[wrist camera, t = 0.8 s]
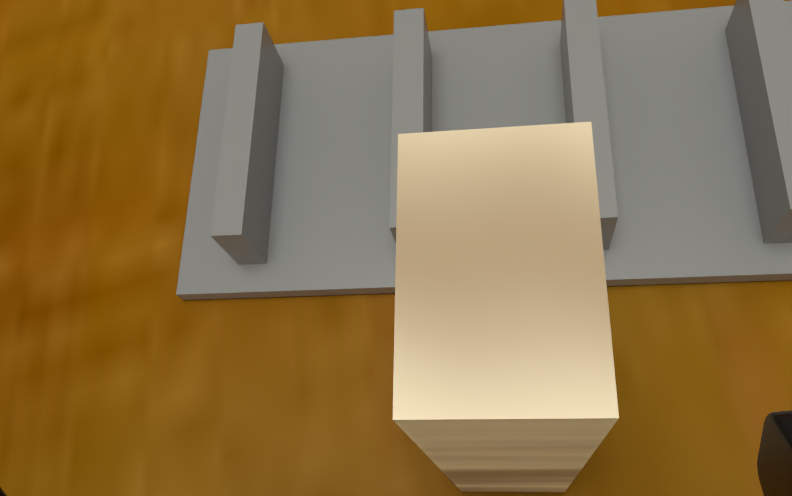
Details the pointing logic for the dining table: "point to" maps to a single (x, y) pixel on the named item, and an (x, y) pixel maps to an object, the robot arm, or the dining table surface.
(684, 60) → the slotted rack
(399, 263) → the birch block
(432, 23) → the dining table surface
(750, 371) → the dining table surface
